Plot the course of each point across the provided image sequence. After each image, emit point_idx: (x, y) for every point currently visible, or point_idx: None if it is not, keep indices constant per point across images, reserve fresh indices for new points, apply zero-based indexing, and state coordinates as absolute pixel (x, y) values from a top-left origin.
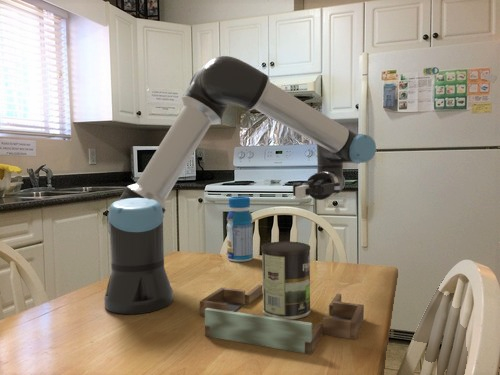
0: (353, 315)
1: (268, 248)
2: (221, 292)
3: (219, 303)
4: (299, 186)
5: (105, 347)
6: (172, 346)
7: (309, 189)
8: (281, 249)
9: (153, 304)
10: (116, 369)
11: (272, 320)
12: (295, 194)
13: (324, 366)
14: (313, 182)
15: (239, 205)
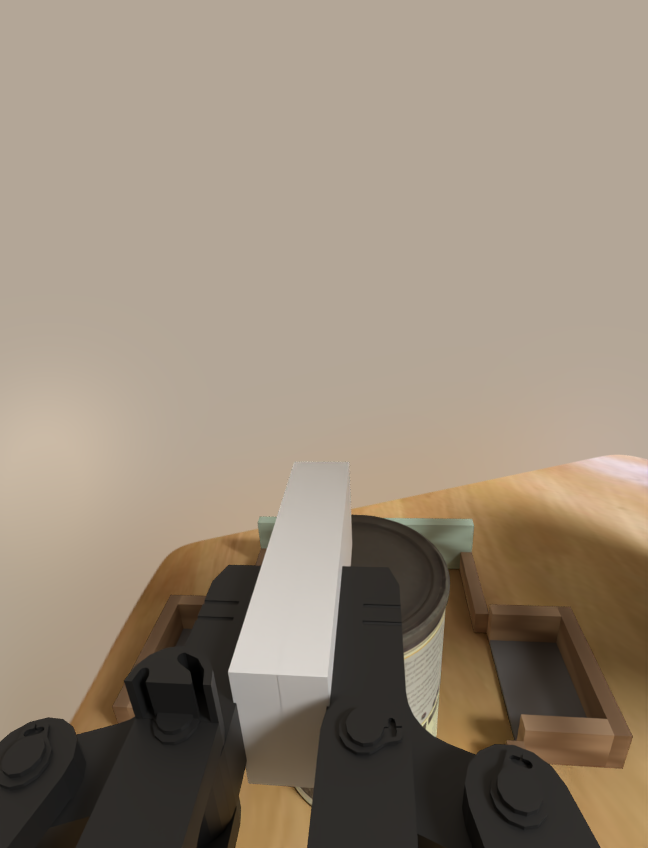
0: (165, 628)
1: (403, 541)
2: (599, 710)
3: (512, 609)
4: (323, 494)
5: (581, 503)
6: (491, 526)
7: (229, 569)
8: (354, 538)
9: None
10: (504, 478)
11: None
12: (350, 517)
13: (243, 538)
14: (142, 667)
15: None
